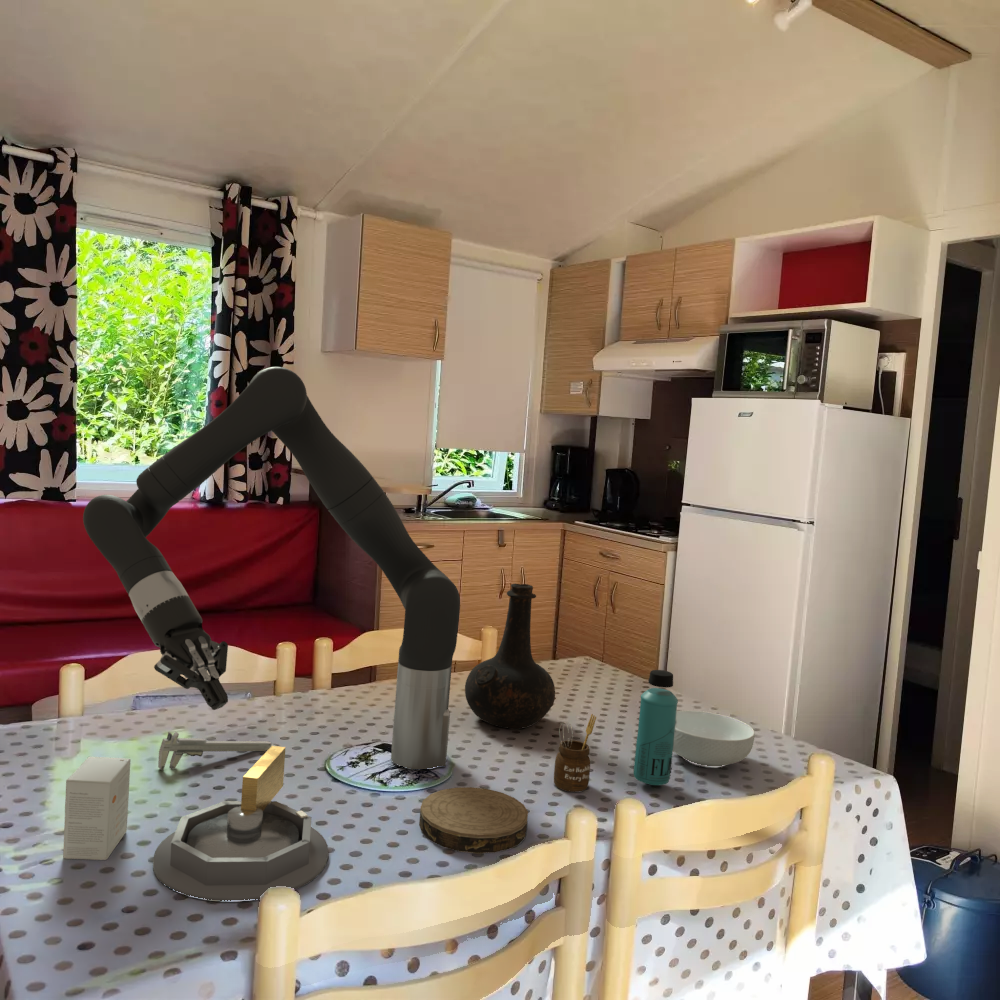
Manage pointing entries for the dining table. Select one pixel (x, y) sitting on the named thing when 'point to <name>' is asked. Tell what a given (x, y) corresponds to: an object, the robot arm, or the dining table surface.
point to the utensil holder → (573, 762)
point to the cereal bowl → (711, 738)
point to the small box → (96, 808)
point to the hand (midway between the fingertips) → (221, 705)
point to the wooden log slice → (473, 820)
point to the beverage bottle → (656, 731)
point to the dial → (249, 817)
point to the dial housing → (239, 860)
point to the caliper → (202, 747)
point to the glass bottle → (512, 673)
